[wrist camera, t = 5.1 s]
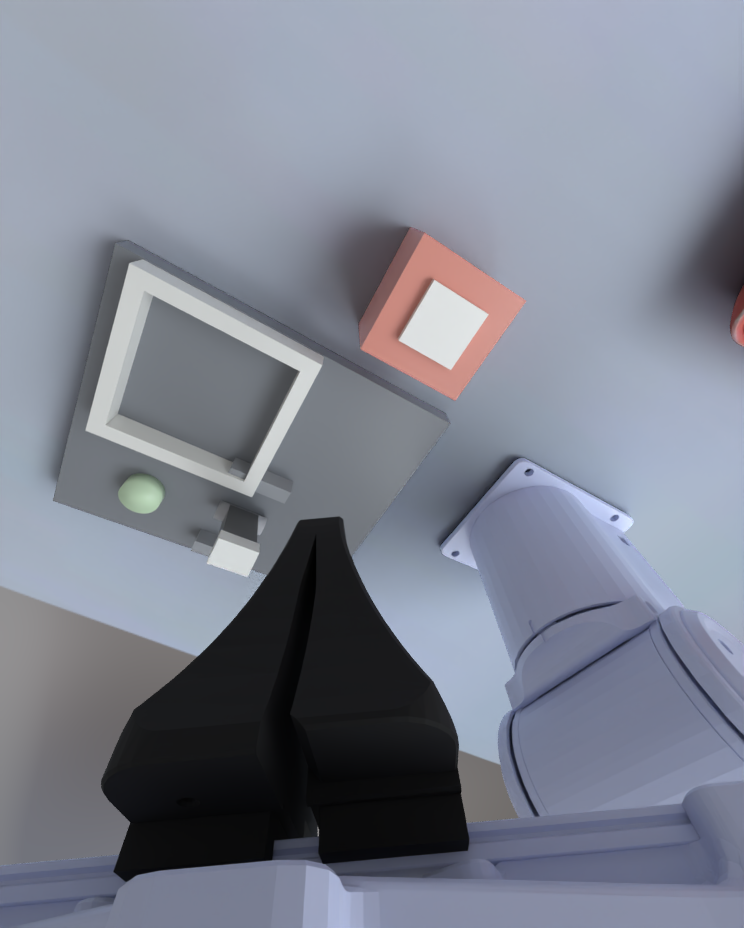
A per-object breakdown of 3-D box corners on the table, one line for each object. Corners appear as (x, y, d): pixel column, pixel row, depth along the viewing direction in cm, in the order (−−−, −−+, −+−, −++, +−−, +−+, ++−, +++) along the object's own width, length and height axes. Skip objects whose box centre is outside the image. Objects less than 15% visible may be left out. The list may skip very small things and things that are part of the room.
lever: (267, 514, 23) (268, 556, 18) (258, 533, 24) (256, 580, 18) (222, 496, 23) (209, 534, 17) (213, 515, 23) (197, 560, 17)
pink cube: (494, 283, 19) (529, 302, 15) (438, 368, 21) (456, 403, 17) (409, 226, 17) (425, 233, 14) (358, 323, 19) (360, 351, 16)
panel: (445, 413, 22) (455, 435, 20) (324, 580, 28) (322, 609, 26) (128, 240, 17) (99, 245, 15) (65, 487, 23) (38, 515, 21)
